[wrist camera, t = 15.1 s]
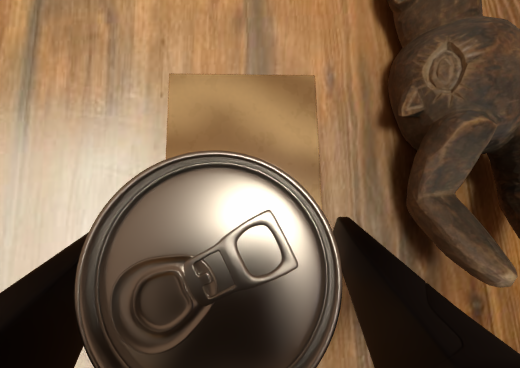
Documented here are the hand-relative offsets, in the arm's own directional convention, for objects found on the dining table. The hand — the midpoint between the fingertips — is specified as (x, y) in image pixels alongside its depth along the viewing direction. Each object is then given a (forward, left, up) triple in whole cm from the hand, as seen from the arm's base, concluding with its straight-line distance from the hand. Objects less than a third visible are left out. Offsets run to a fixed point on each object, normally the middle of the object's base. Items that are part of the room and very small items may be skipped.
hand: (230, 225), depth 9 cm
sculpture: (+1, -19, -8) cm, 21 cm away
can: (-1, 0, -8) cm, 8 cm away
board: (+4, -2, -8) cm, 10 cm away
